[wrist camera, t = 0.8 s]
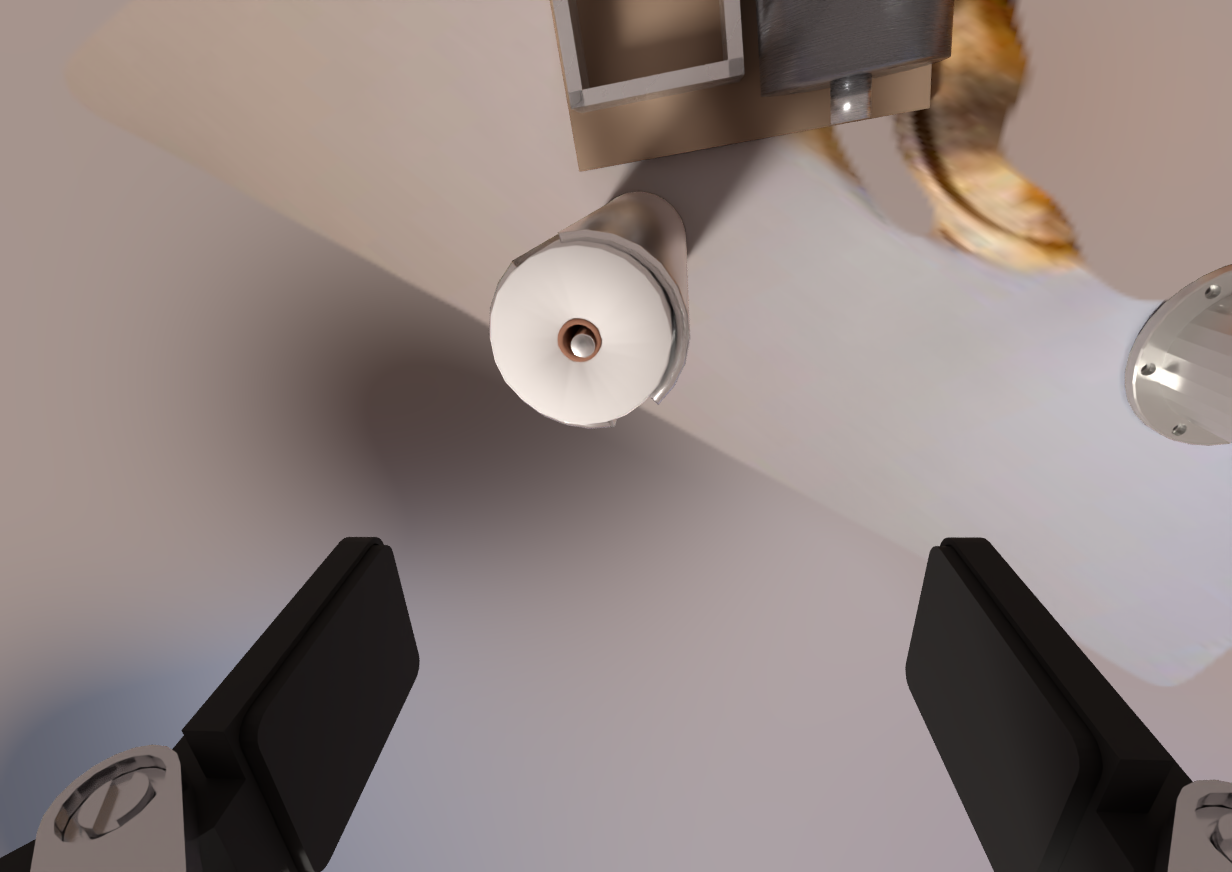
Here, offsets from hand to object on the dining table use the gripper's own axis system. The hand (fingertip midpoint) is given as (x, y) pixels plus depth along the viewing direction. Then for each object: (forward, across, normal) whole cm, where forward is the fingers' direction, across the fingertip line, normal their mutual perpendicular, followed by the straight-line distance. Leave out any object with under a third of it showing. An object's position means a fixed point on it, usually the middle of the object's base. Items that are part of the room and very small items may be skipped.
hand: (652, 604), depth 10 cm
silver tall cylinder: (+34, +1, -2) cm, 34 cm away
